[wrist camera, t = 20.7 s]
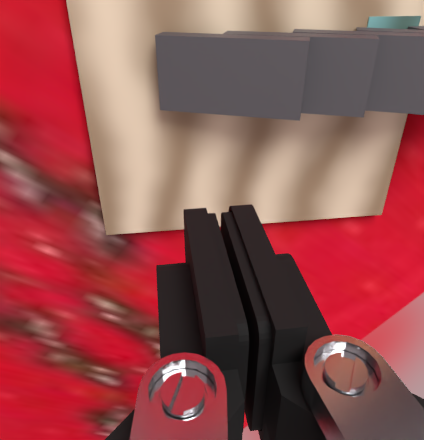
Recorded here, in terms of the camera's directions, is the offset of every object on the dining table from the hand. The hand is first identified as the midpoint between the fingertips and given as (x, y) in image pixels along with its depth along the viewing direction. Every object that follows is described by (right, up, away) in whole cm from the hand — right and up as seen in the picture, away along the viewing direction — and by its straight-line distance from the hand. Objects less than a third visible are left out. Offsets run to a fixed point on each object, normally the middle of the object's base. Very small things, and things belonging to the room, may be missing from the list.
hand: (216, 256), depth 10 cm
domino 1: (-4, +11, +18) cm, 22 cm away
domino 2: (+1, +12, +19) cm, 22 cm away
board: (+3, +9, +23) cm, 25 cm away
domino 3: (+6, +12, +20) cm, 24 cm away
